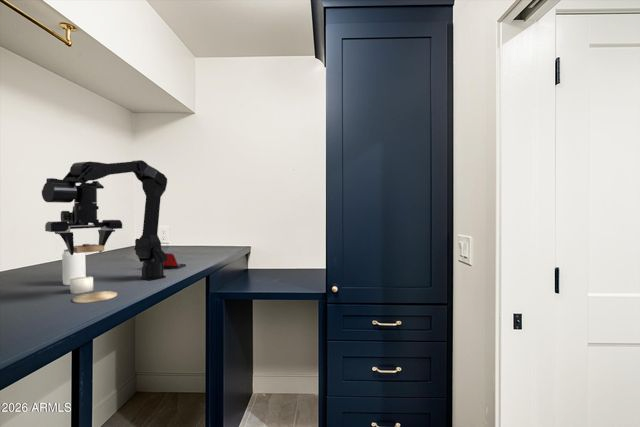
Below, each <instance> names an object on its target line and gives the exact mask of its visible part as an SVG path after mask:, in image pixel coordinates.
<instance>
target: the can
mask: <svg viewBox="0 0 640 427" xmlns="http://www.w3.org/2000/svg"><path fill="white" fill-rule="evenodd" d="M61 258H62V260H61V261H62V284H63V285H64V286H70V279H73V278H78V277H87V275H86V273H87V272H86V268H87V267H86V252H85V253H73V255H70V253H69V251H68V248H67V249H63V253H62V257H61Z"/></svg>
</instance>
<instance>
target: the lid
mask: <svg viewBox="0 0 640 427" xmlns="http://www.w3.org/2000/svg"><path fill="white" fill-rule="evenodd" d="M68 251H69V250H68ZM99 251H102V252H104V251H105V246H102V245H99V244H94V243H93V244H92V243H91V244H90V243H82V245H74V253H85V254H86V253H94V252H99Z"/></svg>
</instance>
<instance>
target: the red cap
mask: <svg viewBox="0 0 640 427" xmlns="http://www.w3.org/2000/svg"><path fill="white" fill-rule="evenodd" d="M164 253H165V254H166V255H167V256H168V257H167V261H166V262H163V270H164V269H165V270H166V269H168V270H178V269H182V268H185V267H186V266H187V264H186V263H178V261H177V260H176V257H175V255H174V254H173V253H169V252H168V253H166V252H164Z"/></svg>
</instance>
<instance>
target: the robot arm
mask: <svg viewBox="0 0 640 427" xmlns="http://www.w3.org/2000/svg"><path fill="white" fill-rule="evenodd" d="M128 173H134V175H135V177H136V178H137V180H138V181H140V182H141V186H142V190H143V192H144V195H145V205H144V214H143V224H142V225H143V227H142V233H141V235H140V237H139V238H135V240H134V243H135V245H134V249H133V250H134V252H135V255H136V256H137V258H138V260H139V263H140V262H141V263H142V266H141V276H140V279H142V280H146V281H154V280H157V279H165V278H167V275H164V269H163V262H166V261H167V257H168V256H167V255H166V254H165V253H166V252H164V251H163V250H162V242H161V239H160V238H159V236H158V230H159V219H160V207H161V200H162V198H161V197H162V196H163V194H164V193H165V191H166V189H167V184H168V177H166V175H165V174H164V173H162V172H161V171H160V170H158V169H156V168H155V167H153V166H151V165H149V164H148V163H147V162H146V161H144V160H143V159H141V160H131V161H124V162H122V161H121V162H112V163H107V162H106V163H105V162H99V161H79V162H74V163H72V165H71V166H70V168H69V171H68V173H67V174H66V175H65V176H64V177H63V179H58V178H56V177H55V178H53V177H49V178H48V177H47V178H45V179H46V182H45V183H44V185H43V187H42V189H41V197H42V199H43V200H44V202H45V203H60V204H61V203H64V204H65V203H66V204H67V203H72V202H74V204H73V206H72V211H69V210H61V212H60V220H59V221H47V222H46V223H45V225H44V229H45V230H44V231H45V232H49V233H54V234H56V235H59V236H60V237H61V238H62V241H63V242H64V244H65V246H66V248H67V249H68V250H69V253H70V255H73V253H74V246H75V244H74V243H75V242H74V232H72V231H71V230H81V229H97V232H98V245H102V246H104V247H105V245H106V243H107V242H108V240H109V238H110V236H111V235H112V233H113V232H114V233H115V232H116V230H117V229H118V230H119V229H123V222H122V221H121V219H103V220H102V221H100V220H99V219H98V210H99V208H100V207H99V206H98V190H100V189H102V190H103V189H104V188H105V186H104V185H103V184H101V183H100V182H99V181H98V180H100V179H103V178H105V177H107V176H110V175H118V174H128ZM89 181H91V182H89ZM76 184H79V185H76ZM102 252H103V251H98V253H102Z"/></svg>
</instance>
